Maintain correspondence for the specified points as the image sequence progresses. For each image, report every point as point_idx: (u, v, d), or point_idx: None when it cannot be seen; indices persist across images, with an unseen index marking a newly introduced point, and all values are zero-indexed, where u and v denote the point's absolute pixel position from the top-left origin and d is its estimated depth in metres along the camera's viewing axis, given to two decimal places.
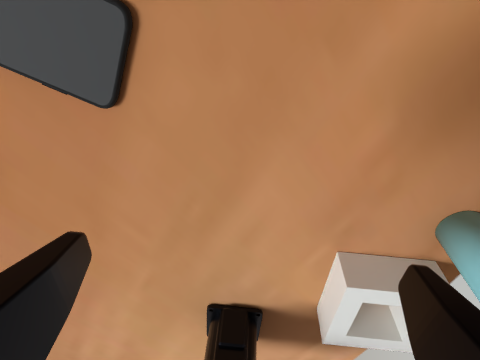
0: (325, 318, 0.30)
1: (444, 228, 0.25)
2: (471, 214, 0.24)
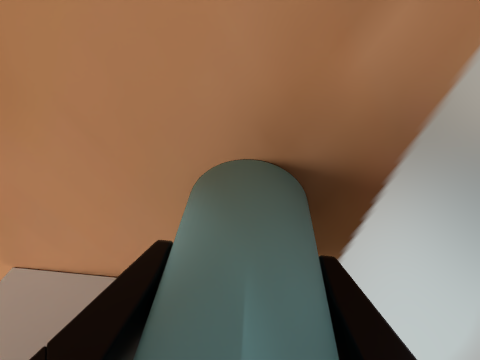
0: None
1: None
2: (243, 167, 0.08)
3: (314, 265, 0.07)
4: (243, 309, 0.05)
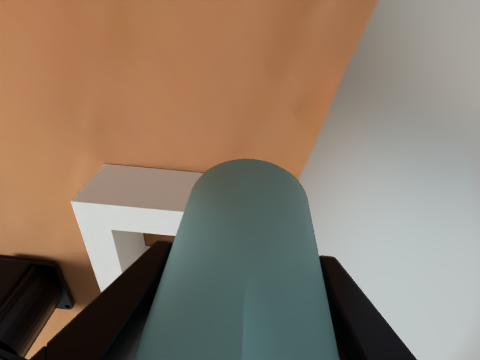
0: None
1: None
2: (243, 167, 0.08)
3: (314, 265, 0.07)
4: (243, 309, 0.05)
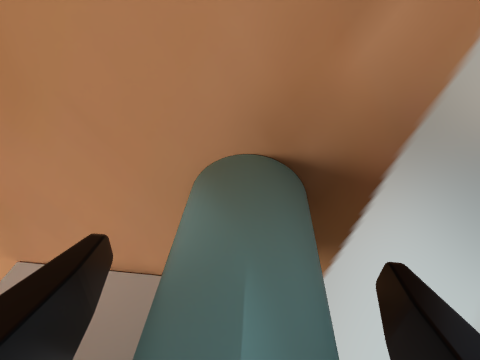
0: None
1: None
2: (244, 161, 0.09)
3: (312, 255, 0.07)
4: (244, 293, 0.05)
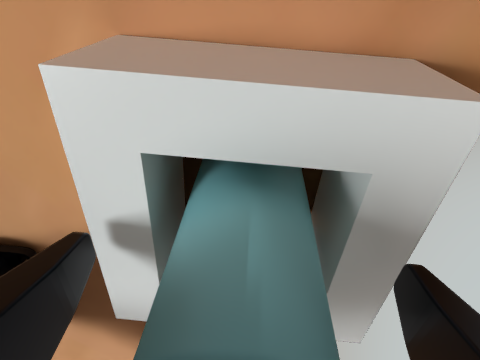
0: None
1: None
2: None
3: (302, 197, 0.09)
4: (249, 210, 0.07)
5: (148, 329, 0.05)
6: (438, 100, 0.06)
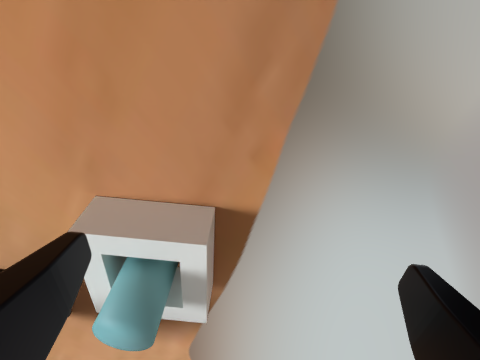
0: None
1: None
2: None
3: (166, 264, 0.22)
4: (136, 275, 0.20)
5: (99, 313, 0.19)
6: (189, 243, 0.20)
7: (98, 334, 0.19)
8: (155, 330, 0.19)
